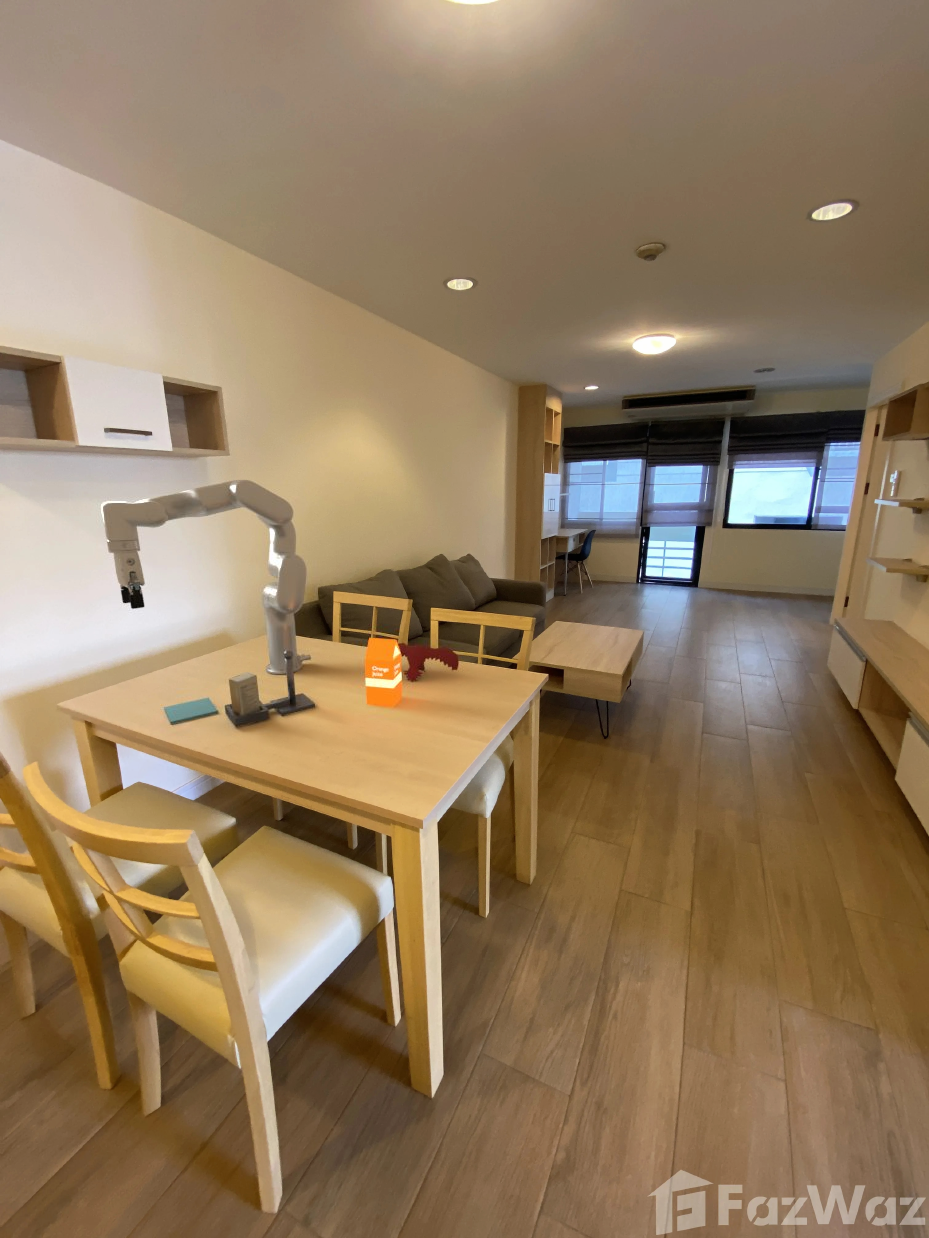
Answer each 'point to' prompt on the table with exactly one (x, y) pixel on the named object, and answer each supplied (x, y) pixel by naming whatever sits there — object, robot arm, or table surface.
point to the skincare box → (244, 694)
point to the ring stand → (275, 701)
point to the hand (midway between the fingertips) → (133, 605)
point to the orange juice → (383, 672)
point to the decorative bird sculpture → (421, 653)
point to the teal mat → (190, 710)
